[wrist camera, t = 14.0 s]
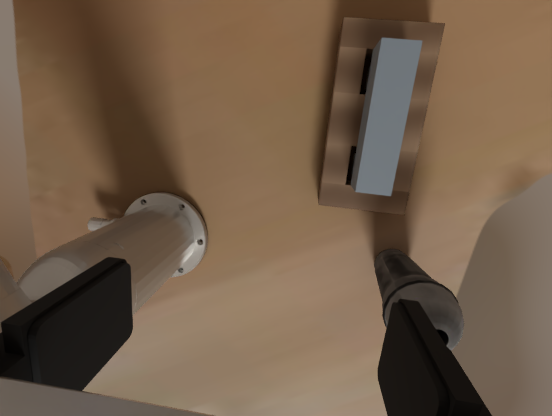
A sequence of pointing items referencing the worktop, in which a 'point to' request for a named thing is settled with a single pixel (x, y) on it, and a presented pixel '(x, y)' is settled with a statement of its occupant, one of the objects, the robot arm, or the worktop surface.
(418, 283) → the beverage cup
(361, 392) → the worktop surface
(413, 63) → the grey block
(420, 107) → the brown rectangular block
